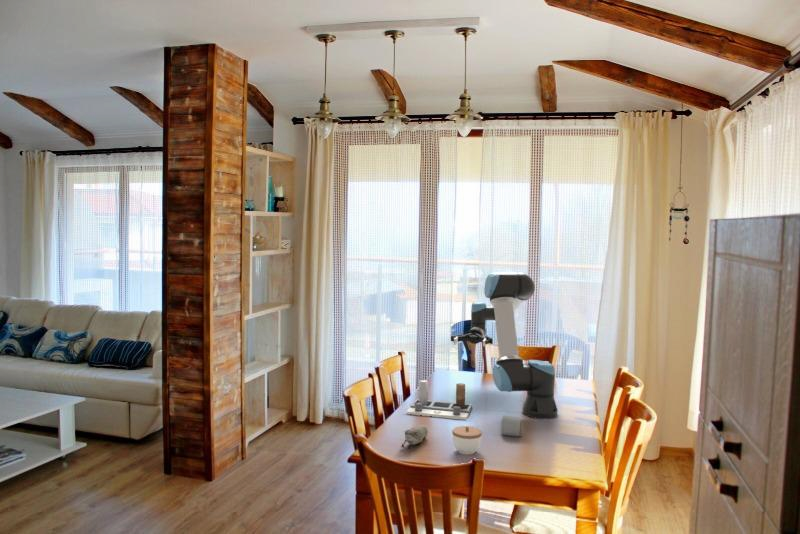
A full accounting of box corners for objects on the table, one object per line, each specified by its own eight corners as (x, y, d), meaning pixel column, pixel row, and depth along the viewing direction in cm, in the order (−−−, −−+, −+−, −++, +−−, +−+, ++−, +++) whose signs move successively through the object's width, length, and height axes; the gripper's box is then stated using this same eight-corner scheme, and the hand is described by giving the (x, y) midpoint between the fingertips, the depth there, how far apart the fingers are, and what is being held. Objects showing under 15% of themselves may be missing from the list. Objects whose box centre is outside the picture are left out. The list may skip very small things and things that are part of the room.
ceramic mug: (521, 439, 232) (522, 419, 232) (500, 437, 234) (500, 417, 234) (523, 431, 242) (524, 412, 242) (503, 429, 244) (504, 410, 244)
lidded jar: (486, 450, 220) (486, 425, 220) (473, 459, 211) (474, 433, 211) (460, 444, 226) (460, 419, 225) (446, 452, 217) (447, 427, 216)
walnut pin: (465, 412, 266) (466, 385, 265) (457, 412, 265) (457, 385, 264) (463, 409, 270) (463, 383, 269) (454, 409, 269) (455, 383, 268)
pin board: (472, 408, 271) (472, 382, 271) (468, 415, 261) (469, 388, 260) (416, 403, 278) (416, 377, 278) (410, 409, 268) (410, 383, 267)
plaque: (468, 415, 261) (468, 406, 260) (466, 420, 255) (466, 410, 254) (410, 410, 267) (410, 400, 267) (406, 414, 262) (406, 404, 261)
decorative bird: (431, 439, 231) (431, 420, 230) (411, 452, 217) (412, 432, 216) (419, 437, 234) (419, 418, 233) (398, 450, 220) (398, 430, 219)
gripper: (500, 344, 299) (495, 352, 279) (450, 341, 306) (442, 348, 285) (500, 329, 299) (495, 336, 278) (451, 326, 305) (443, 333, 285)
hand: (469, 342), depth 282 cm, fingers open, 13 cm apart
